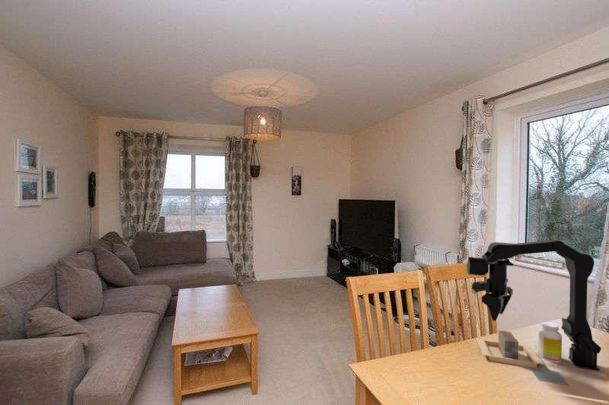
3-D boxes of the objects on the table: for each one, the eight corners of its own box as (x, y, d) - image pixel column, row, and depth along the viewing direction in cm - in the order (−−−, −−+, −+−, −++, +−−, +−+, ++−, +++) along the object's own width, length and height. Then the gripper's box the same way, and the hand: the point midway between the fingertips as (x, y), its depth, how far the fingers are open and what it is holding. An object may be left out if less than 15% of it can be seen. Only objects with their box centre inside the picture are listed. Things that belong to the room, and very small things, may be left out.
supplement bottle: (566, 364, 110) (567, 328, 110) (547, 364, 110) (548, 328, 110) (551, 354, 117) (552, 320, 116) (533, 354, 117) (534, 320, 117)
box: (510, 350, 119) (510, 331, 119) (518, 362, 110) (518, 342, 110) (497, 348, 120) (498, 330, 120) (504, 360, 112) (504, 340, 112)
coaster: (558, 373, 104) (558, 371, 104) (569, 387, 97) (569, 385, 97) (530, 369, 107) (530, 367, 107) (538, 382, 100) (539, 380, 100)
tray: (530, 352, 119) (530, 346, 119) (543, 370, 106) (544, 363, 106) (476, 344, 125) (476, 338, 125) (483, 361, 112) (483, 354, 112)
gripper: (481, 268, 130) (481, 305, 130) (466, 277, 117) (466, 318, 117) (513, 273, 122) (512, 312, 122) (500, 282, 109) (500, 327, 109)
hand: (497, 317), depth 118 cm, fingers open, 9 cm apart
